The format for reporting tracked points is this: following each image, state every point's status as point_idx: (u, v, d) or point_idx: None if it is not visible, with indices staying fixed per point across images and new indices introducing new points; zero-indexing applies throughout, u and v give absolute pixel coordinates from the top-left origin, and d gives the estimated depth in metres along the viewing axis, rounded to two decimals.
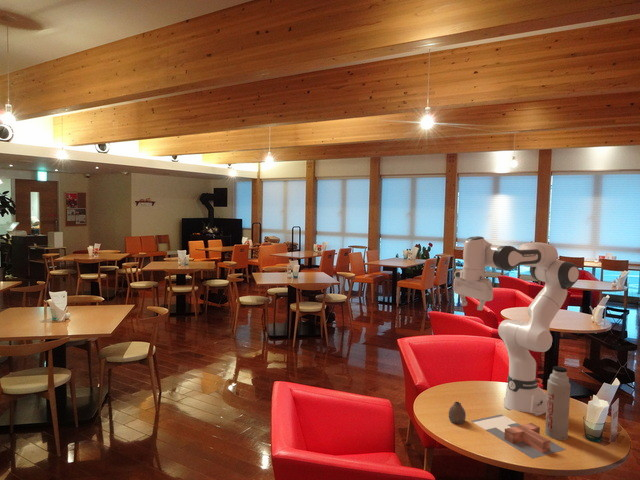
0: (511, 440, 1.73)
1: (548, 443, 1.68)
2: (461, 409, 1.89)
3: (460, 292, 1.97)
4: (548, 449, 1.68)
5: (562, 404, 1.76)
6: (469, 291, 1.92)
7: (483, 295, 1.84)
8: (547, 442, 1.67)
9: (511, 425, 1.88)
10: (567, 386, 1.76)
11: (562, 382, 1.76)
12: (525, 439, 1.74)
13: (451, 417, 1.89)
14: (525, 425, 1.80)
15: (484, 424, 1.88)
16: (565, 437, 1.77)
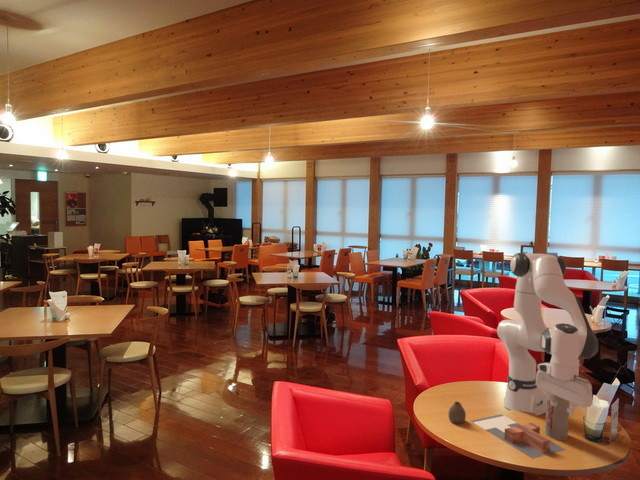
0: (511, 440, 1.73)
1: (548, 443, 1.68)
2: (461, 409, 1.89)
3: (546, 389, 1.65)
4: (548, 449, 1.68)
5: (562, 404, 1.76)
6: (559, 391, 1.60)
7: (581, 401, 1.53)
8: (547, 442, 1.67)
9: (511, 425, 1.88)
10: None
11: None
12: (525, 439, 1.74)
13: (451, 417, 1.89)
14: (525, 425, 1.80)
15: (484, 424, 1.88)
16: (565, 437, 1.77)
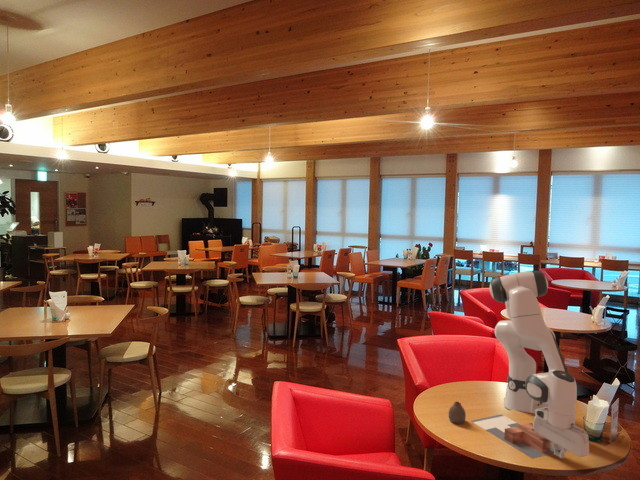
0: (511, 440, 1.73)
1: (548, 443, 1.68)
2: (461, 409, 1.89)
3: (543, 434, 1.66)
4: (548, 449, 1.68)
5: None
6: (556, 438, 1.61)
7: (577, 450, 1.54)
8: (547, 442, 1.67)
9: (511, 425, 1.88)
10: None
11: None
12: (525, 439, 1.74)
13: (451, 417, 1.89)
14: (525, 425, 1.80)
15: (484, 424, 1.88)
16: None
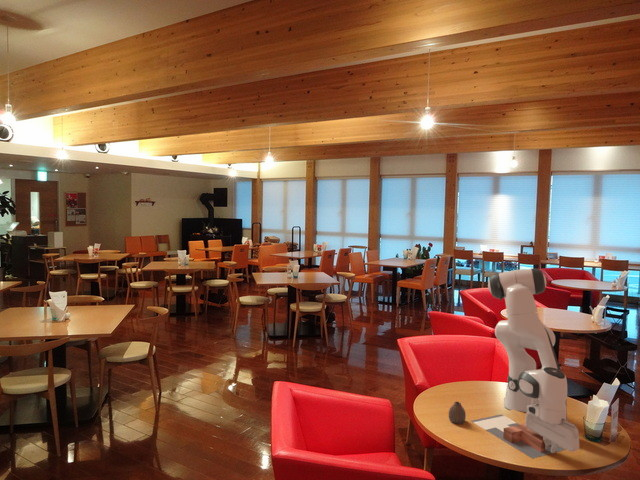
0: (510, 439, 1.74)
1: None
2: (461, 409, 1.89)
3: (535, 430, 1.70)
4: None
5: None
6: (548, 433, 1.65)
7: (568, 445, 1.57)
8: None
9: (511, 425, 1.88)
10: None
11: None
12: (524, 438, 1.74)
13: (451, 417, 1.89)
14: (524, 424, 1.80)
15: (484, 424, 1.88)
16: None
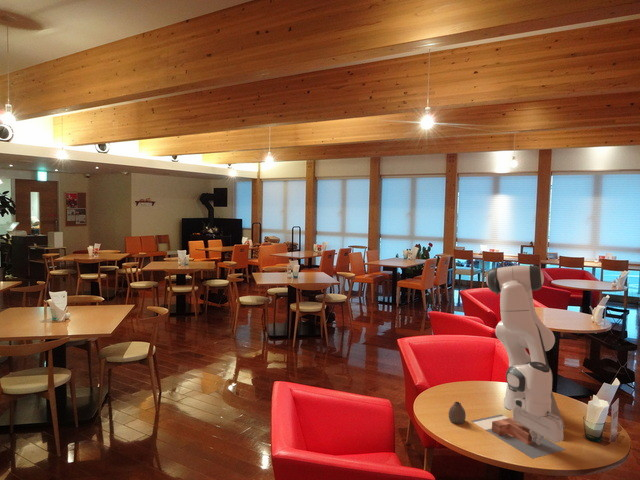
0: (498, 432, 1.79)
1: None
2: (461, 409, 1.89)
3: (521, 422, 1.75)
4: None
5: None
6: (534, 425, 1.70)
7: (552, 436, 1.63)
8: None
9: None
10: None
11: None
12: (511, 431, 1.80)
13: (451, 417, 1.89)
14: (512, 418, 1.86)
15: (484, 424, 1.88)
16: None
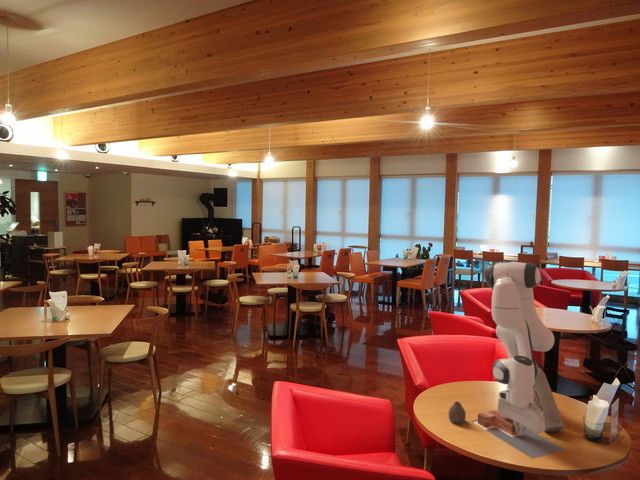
0: (483, 424, 1.86)
1: None
2: (461, 409, 1.89)
3: (506, 414, 1.82)
4: None
5: (543, 388, 1.88)
6: (517, 417, 1.77)
7: (534, 426, 1.70)
8: None
9: None
10: (541, 372, 1.93)
11: None
12: (496, 423, 1.86)
13: (451, 417, 1.89)
14: (497, 410, 1.93)
15: None
16: (560, 421, 1.80)
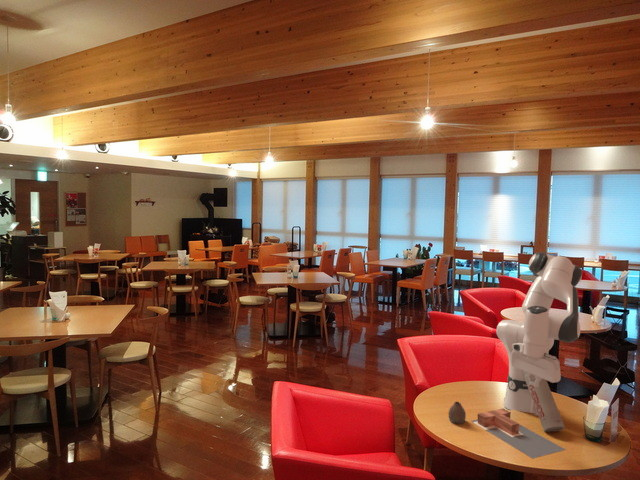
0: (483, 424, 1.86)
1: (517, 426, 1.81)
2: (461, 409, 1.89)
3: (519, 367, 1.77)
4: (517, 432, 1.81)
5: (542, 388, 1.88)
6: (531, 368, 1.72)
7: (549, 376, 1.64)
8: (516, 425, 1.80)
9: None
10: None
11: None
12: (496, 423, 1.86)
13: (451, 417, 1.89)
14: (497, 410, 1.93)
15: None
16: (560, 421, 1.80)
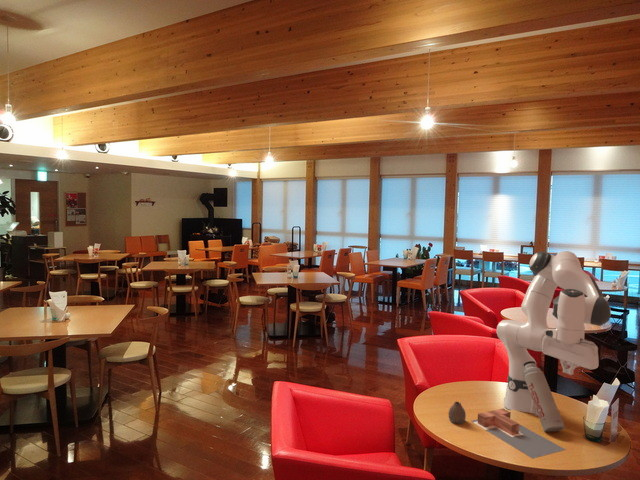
0: (483, 424, 1.86)
1: (517, 426, 1.81)
2: (461, 409, 1.89)
3: (552, 354, 1.67)
4: (517, 432, 1.81)
5: (542, 388, 1.88)
6: (566, 355, 1.62)
7: (587, 363, 1.55)
8: (516, 425, 1.80)
9: None
10: (540, 372, 1.93)
11: (534, 370, 1.94)
12: (496, 423, 1.86)
13: (451, 417, 1.89)
14: (497, 410, 1.93)
15: None
16: (560, 421, 1.80)
